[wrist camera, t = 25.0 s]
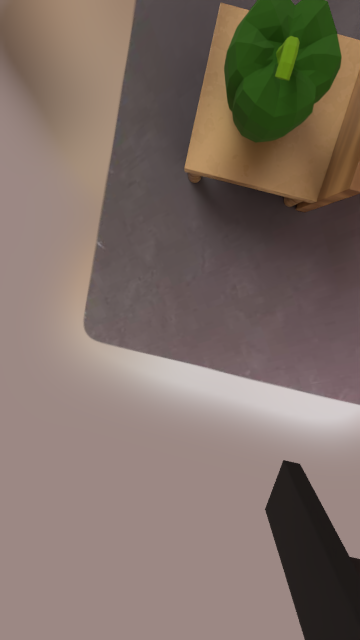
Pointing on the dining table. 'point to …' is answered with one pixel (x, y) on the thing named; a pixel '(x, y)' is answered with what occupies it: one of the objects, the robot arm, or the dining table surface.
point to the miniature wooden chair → (288, 151)
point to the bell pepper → (280, 66)
